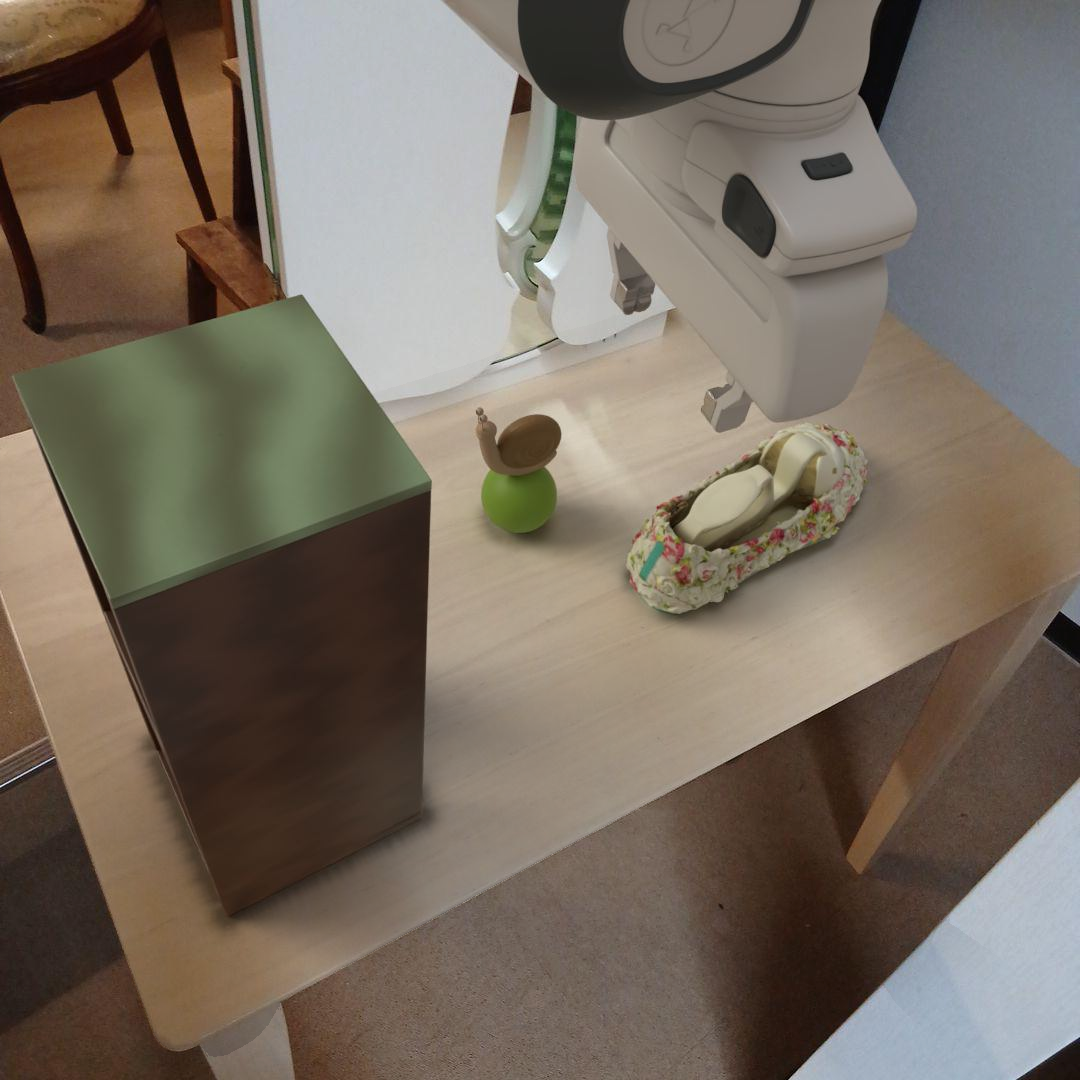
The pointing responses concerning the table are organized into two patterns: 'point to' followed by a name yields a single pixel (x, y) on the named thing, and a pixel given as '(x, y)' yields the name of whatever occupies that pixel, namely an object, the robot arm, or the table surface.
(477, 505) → the table surface
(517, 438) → the snail figurine
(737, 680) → the table surface
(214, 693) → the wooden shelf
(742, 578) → the ballet flat
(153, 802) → the table surface
